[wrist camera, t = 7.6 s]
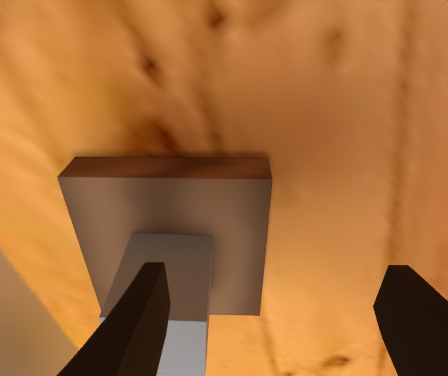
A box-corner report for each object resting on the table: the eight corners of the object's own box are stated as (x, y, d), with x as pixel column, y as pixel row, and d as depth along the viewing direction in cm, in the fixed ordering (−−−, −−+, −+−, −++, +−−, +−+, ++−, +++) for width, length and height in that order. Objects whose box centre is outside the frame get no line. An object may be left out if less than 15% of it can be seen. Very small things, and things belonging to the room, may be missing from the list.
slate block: (212, 236, 20) (206, 322, 15) (210, 289, 23) (205, 377, 18) (132, 232, 20) (99, 317, 15) (140, 286, 23) (114, 373, 18)
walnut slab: (267, 154, 20) (272, 179, 18) (257, 284, 27) (259, 315, 24) (78, 152, 20) (57, 177, 18) (114, 281, 27) (101, 312, 24)
